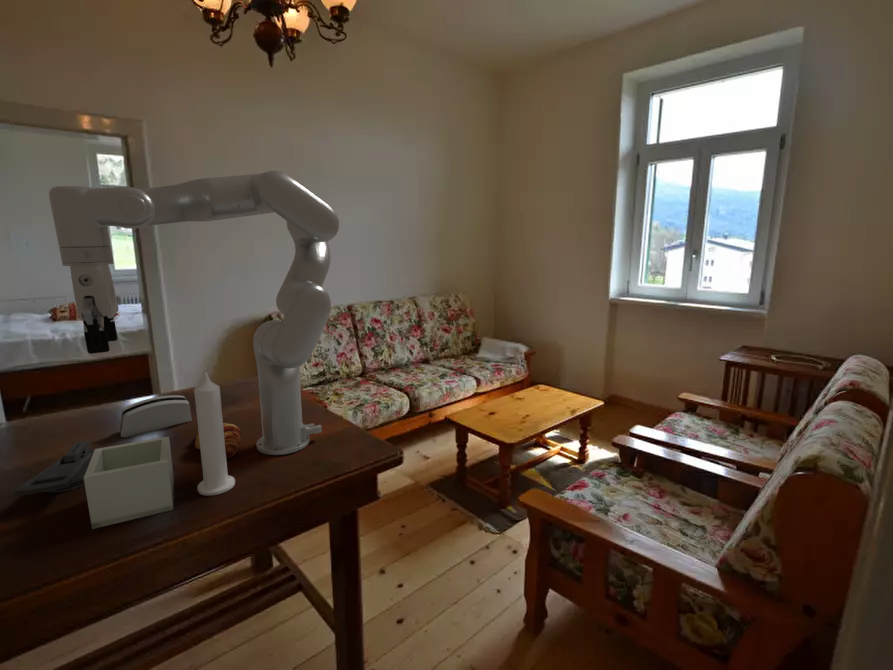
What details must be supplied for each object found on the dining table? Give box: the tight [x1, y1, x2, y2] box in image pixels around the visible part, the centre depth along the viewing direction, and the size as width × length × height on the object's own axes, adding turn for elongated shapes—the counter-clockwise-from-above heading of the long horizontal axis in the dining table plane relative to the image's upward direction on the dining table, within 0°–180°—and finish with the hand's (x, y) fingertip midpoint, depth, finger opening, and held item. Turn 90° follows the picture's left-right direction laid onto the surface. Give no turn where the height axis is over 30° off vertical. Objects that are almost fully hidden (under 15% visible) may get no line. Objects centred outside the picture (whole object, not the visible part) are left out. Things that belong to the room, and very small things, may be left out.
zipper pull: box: [13, 440, 95, 496], centre depth 94 cm, size 9×7×25 cm
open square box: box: [84, 436, 175, 530], centre depth 88 cm, size 12×12×10 cm
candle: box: [193, 371, 236, 497], centre depth 92 cm, size 7×7×25 cm
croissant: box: [194, 422, 242, 460], centre depth 112 cm, size 21×10×8 cm, turn 41°
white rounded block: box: [118, 394, 193, 438], centre depth 122 cm, size 17×5×10 cm, turn 135°
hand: (103, 346), depth 88 cm, fingers open, 9 cm apart
